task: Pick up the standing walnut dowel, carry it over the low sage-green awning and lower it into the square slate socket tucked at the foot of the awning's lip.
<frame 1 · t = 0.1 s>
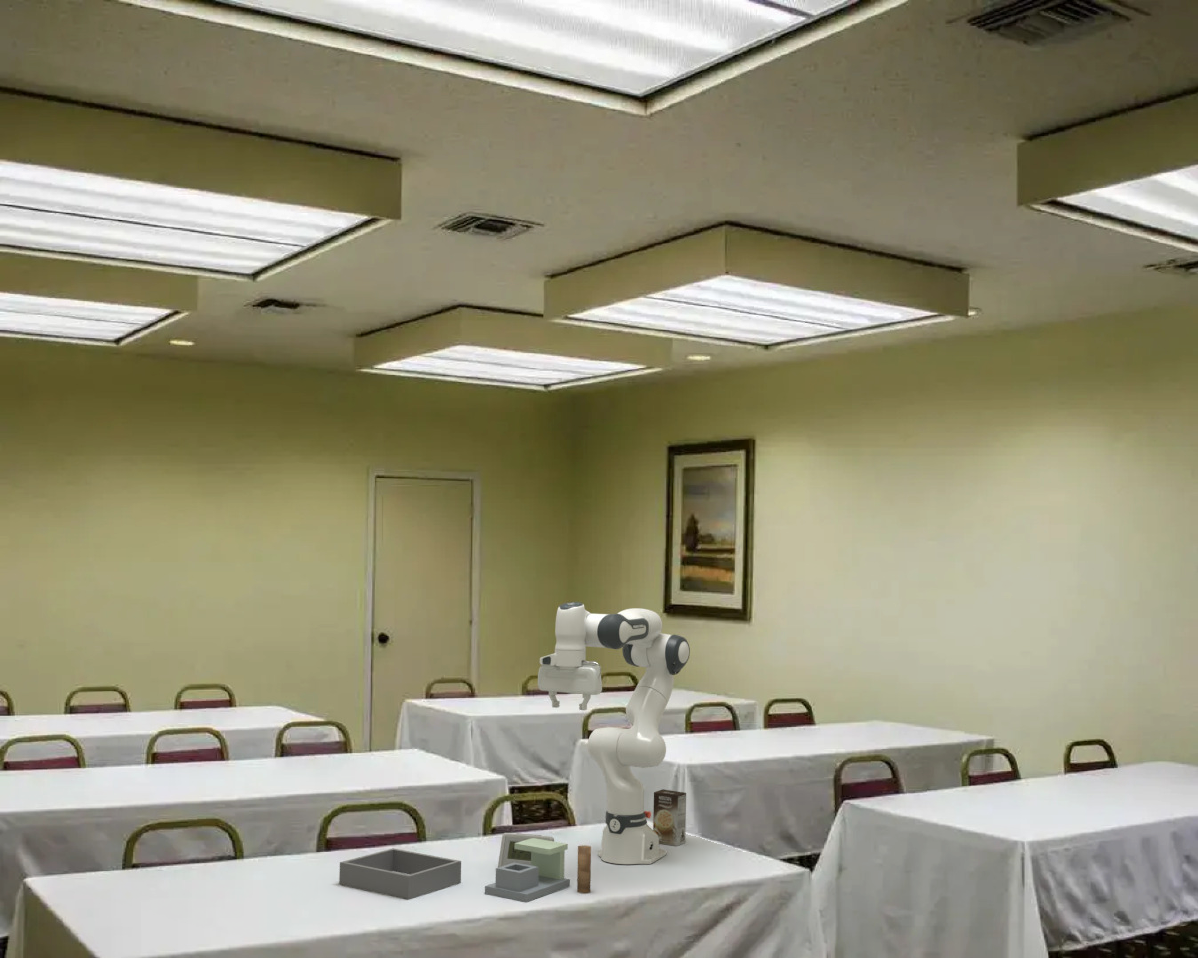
hand: (569, 708, 365), 48 cm above the table, fingers open, 8 cm apart
digital clock: (525, 873, 369), on the table
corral: (400, 883, 355), on the table
peg: (583, 891, 350), on the table
coffee box: (669, 843, 411), on the table
nook: (527, 889, 350), on the table
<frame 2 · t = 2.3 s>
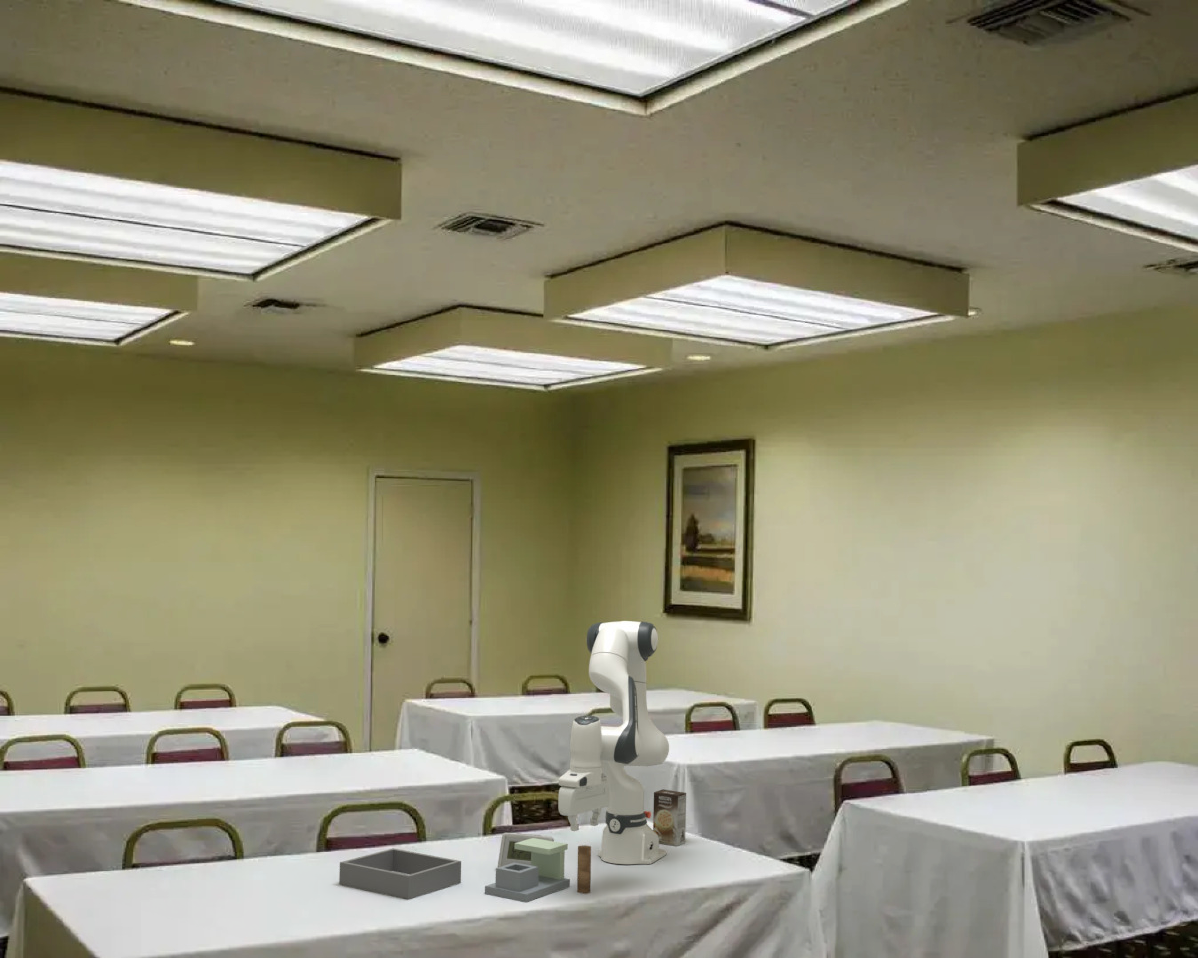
hand: (584, 827, 350), 17 cm above the table, fingers open, 8 cm apart
nothing on the table moved.
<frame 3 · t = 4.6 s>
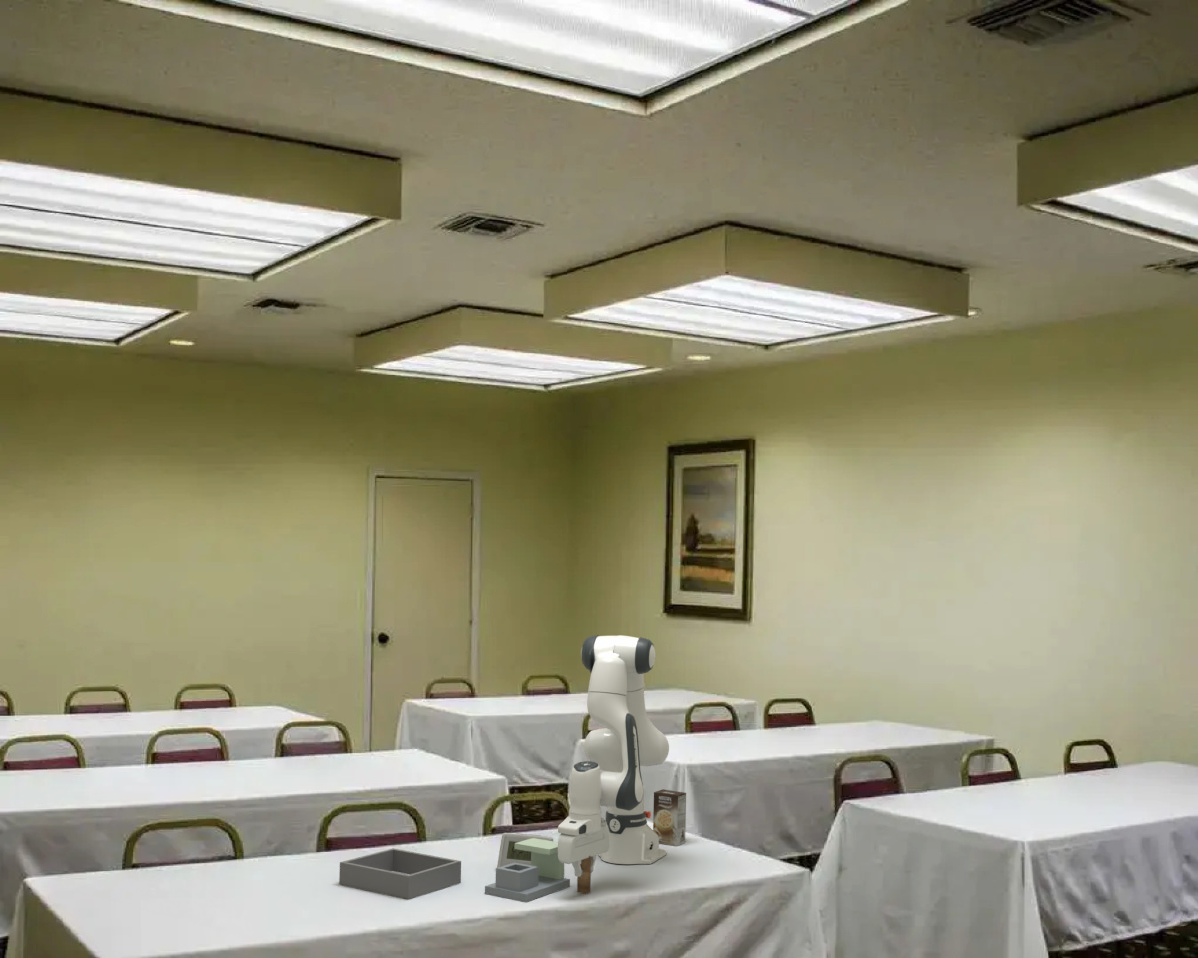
hand: (584, 874, 350), 5 cm above the table, fingers closed on peg, 4 cm apart
peg: (583, 891, 350), on the table, touching gripper
everything else where it was.
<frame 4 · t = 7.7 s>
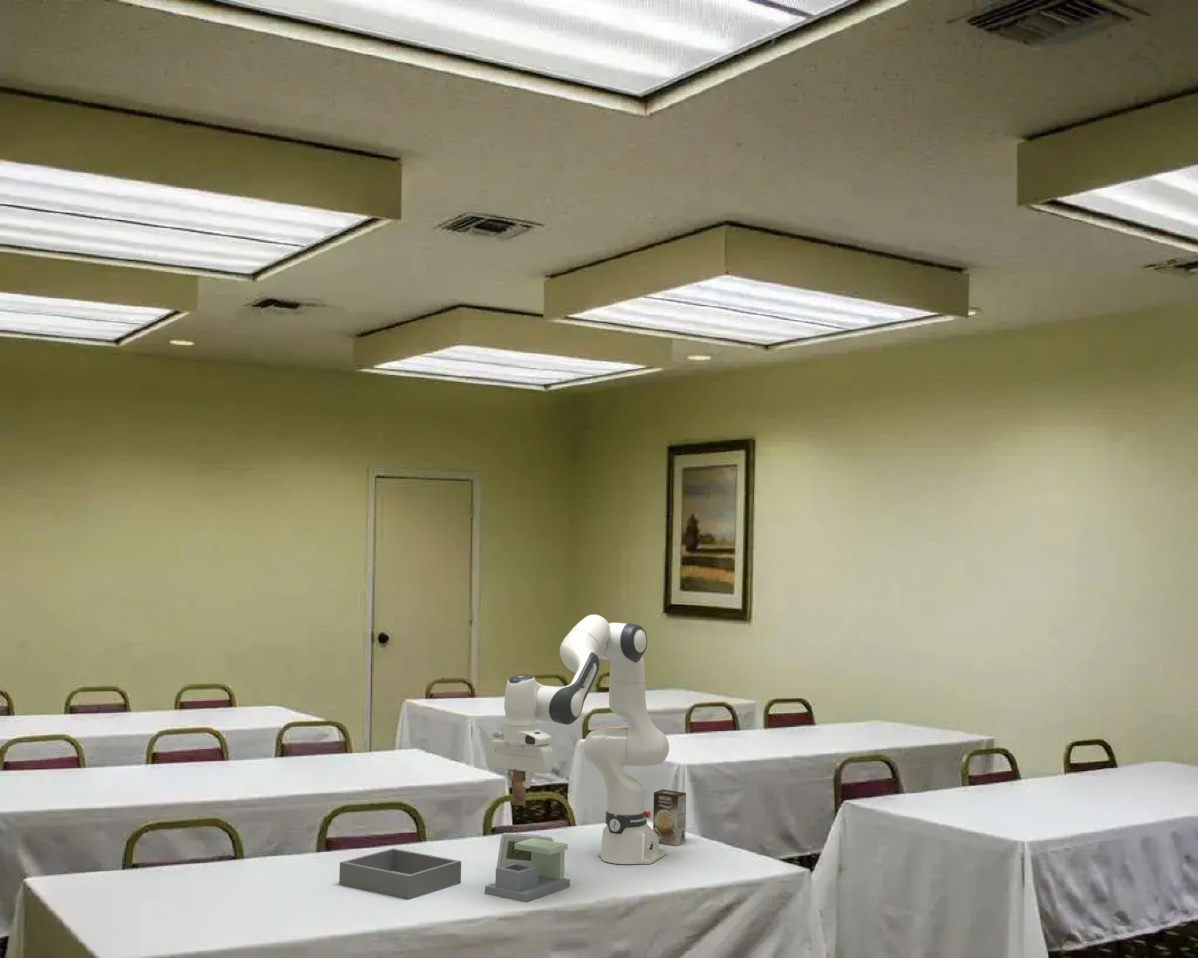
hand: (518, 786, 348), 28 cm above the table, fingers closed on peg, 4 cm apart
peg: (518, 804, 348), point 24 cm above the table, touching gripper
everything else where it was.
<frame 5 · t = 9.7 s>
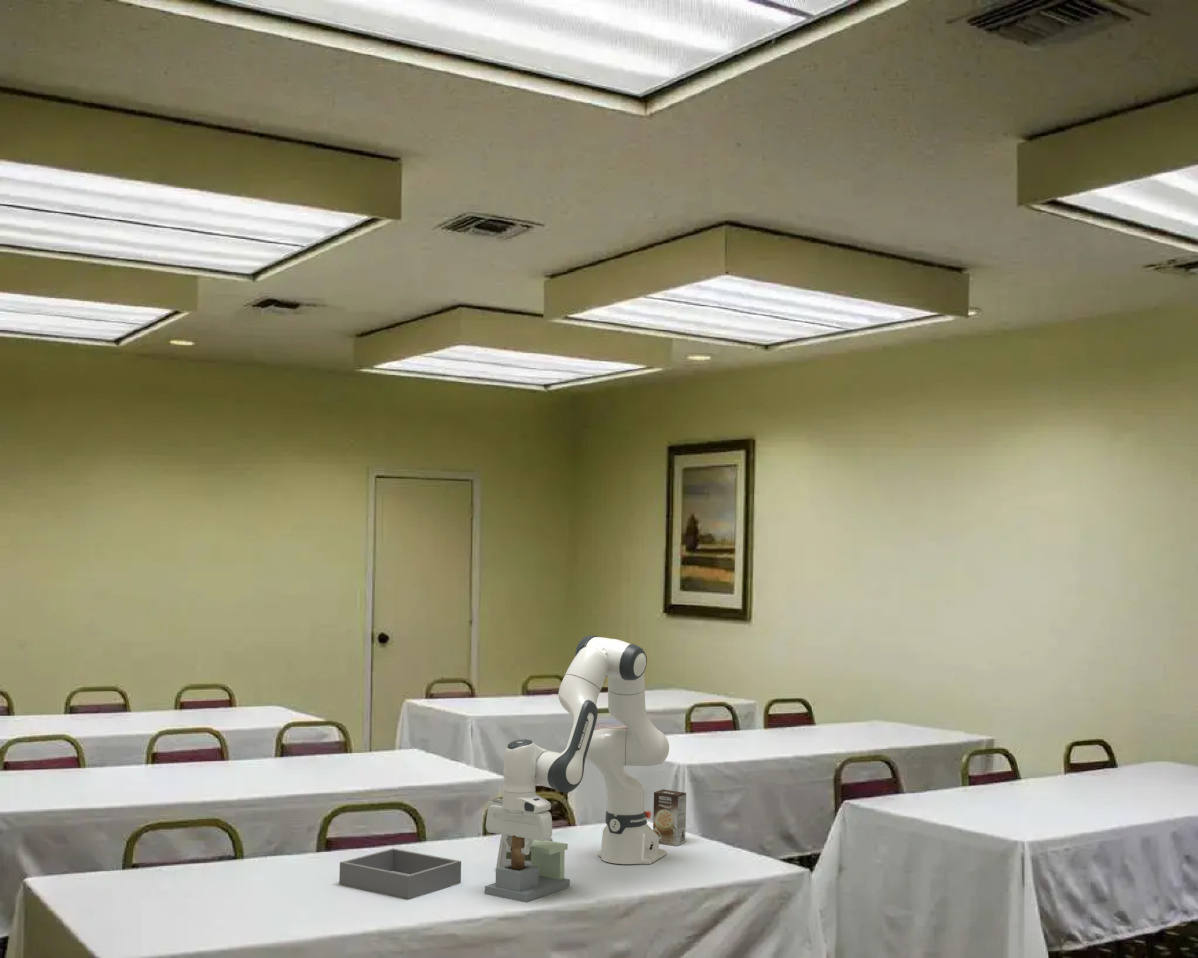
hand: (517, 853, 347), 11 cm above the table, fingers closed on peg, 4 cm apart
peg: (517, 870, 346), point 6 cm above the table, touching gripper
everything else where it was.
when the fingers open (9 cm above the table, at t = 11.1 s): peg drops 2 cm, resting on nook.
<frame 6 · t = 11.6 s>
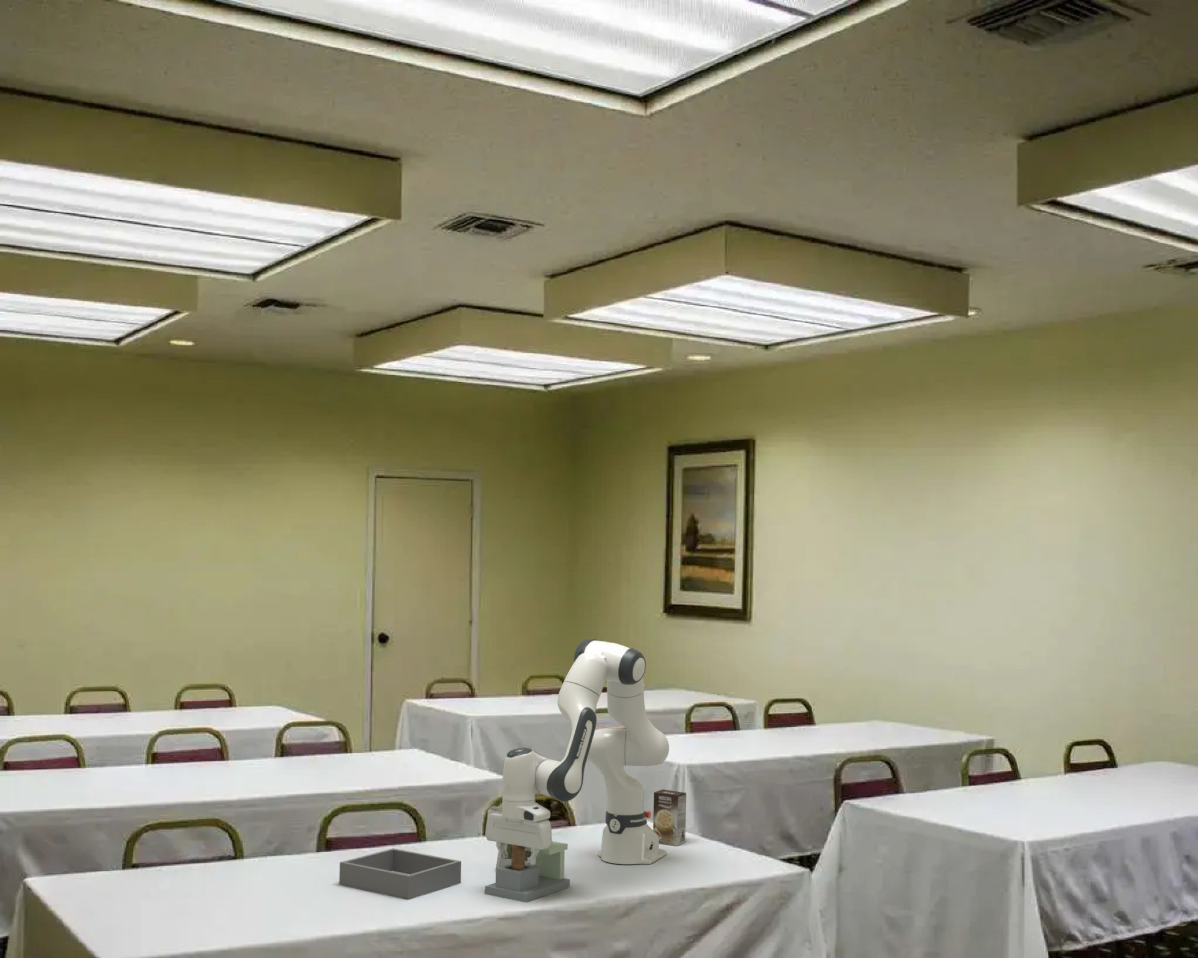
hand: (517, 861, 347), 9 cm above the table, fingers open, 8 cm apart
peg: (517, 885, 346), point 2 cm above the table, touching nook
everything else where it was.
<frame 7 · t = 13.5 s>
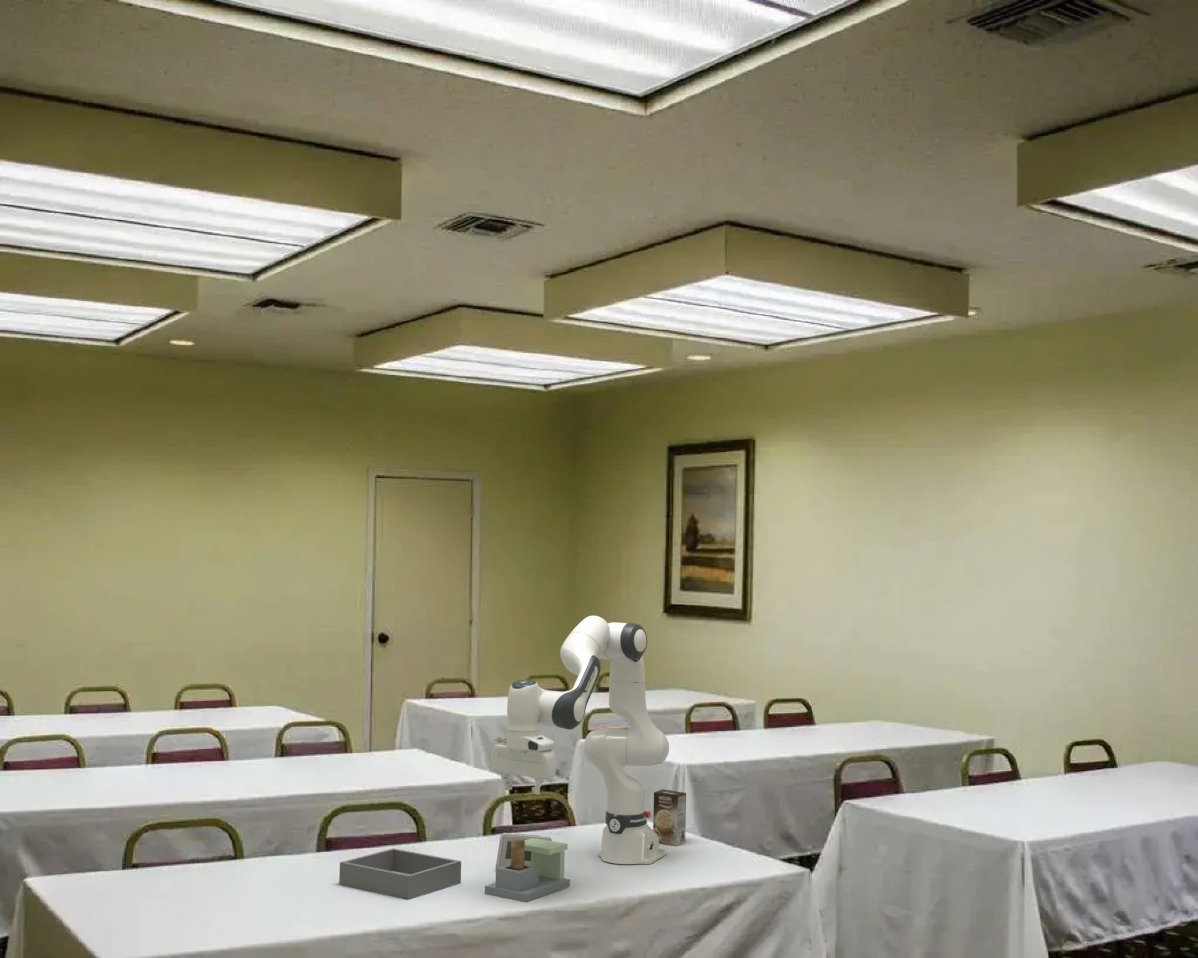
hand: (521, 791, 349), 27 cm above the table, fingers open, 8 cm apart
nothing on the table moved.
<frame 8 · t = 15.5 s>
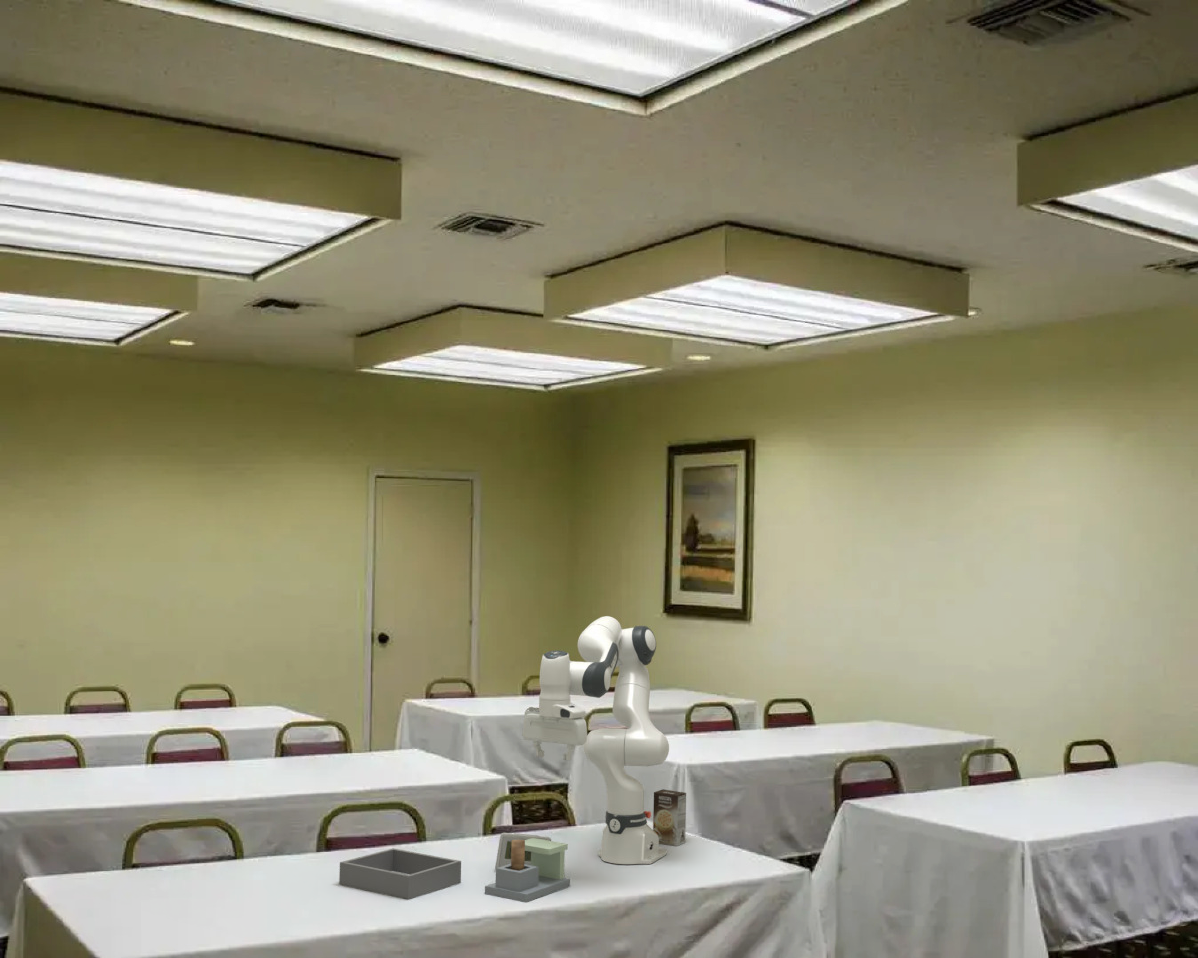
hand: (553, 758, 361), 34 cm above the table, fingers open, 8 cm apart
nothing on the table moved.
at the end: peg 0.1 cm from the target spot on the nook, point 2.0 cm above the nook's base; peg tilted 1°; the gripper is holding nothing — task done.
